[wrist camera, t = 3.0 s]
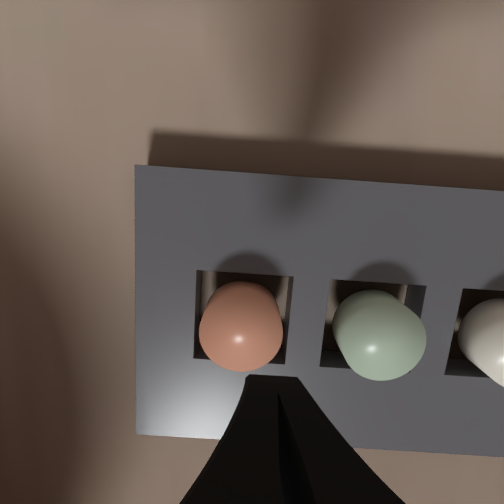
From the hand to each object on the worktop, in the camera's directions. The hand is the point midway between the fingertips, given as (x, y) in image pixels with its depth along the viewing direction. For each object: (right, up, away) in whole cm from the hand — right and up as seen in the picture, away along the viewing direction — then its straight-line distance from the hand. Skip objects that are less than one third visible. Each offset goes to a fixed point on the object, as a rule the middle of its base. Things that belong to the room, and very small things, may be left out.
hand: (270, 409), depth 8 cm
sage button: (+5, +1, +6) cm, 8 cm away
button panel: (+5, +1, +7) cm, 9 cm away
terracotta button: (-1, +1, +6) cm, 6 cm away
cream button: (+10, +1, +6) cm, 12 cm away
